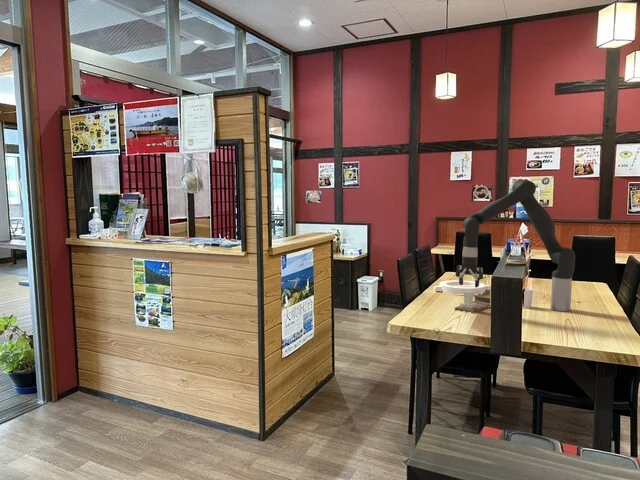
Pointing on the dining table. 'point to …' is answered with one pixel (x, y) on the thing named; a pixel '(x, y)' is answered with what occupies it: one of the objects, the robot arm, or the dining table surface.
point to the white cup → (528, 297)
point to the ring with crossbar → (461, 287)
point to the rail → (480, 304)
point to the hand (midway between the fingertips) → (468, 286)
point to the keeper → (468, 300)
